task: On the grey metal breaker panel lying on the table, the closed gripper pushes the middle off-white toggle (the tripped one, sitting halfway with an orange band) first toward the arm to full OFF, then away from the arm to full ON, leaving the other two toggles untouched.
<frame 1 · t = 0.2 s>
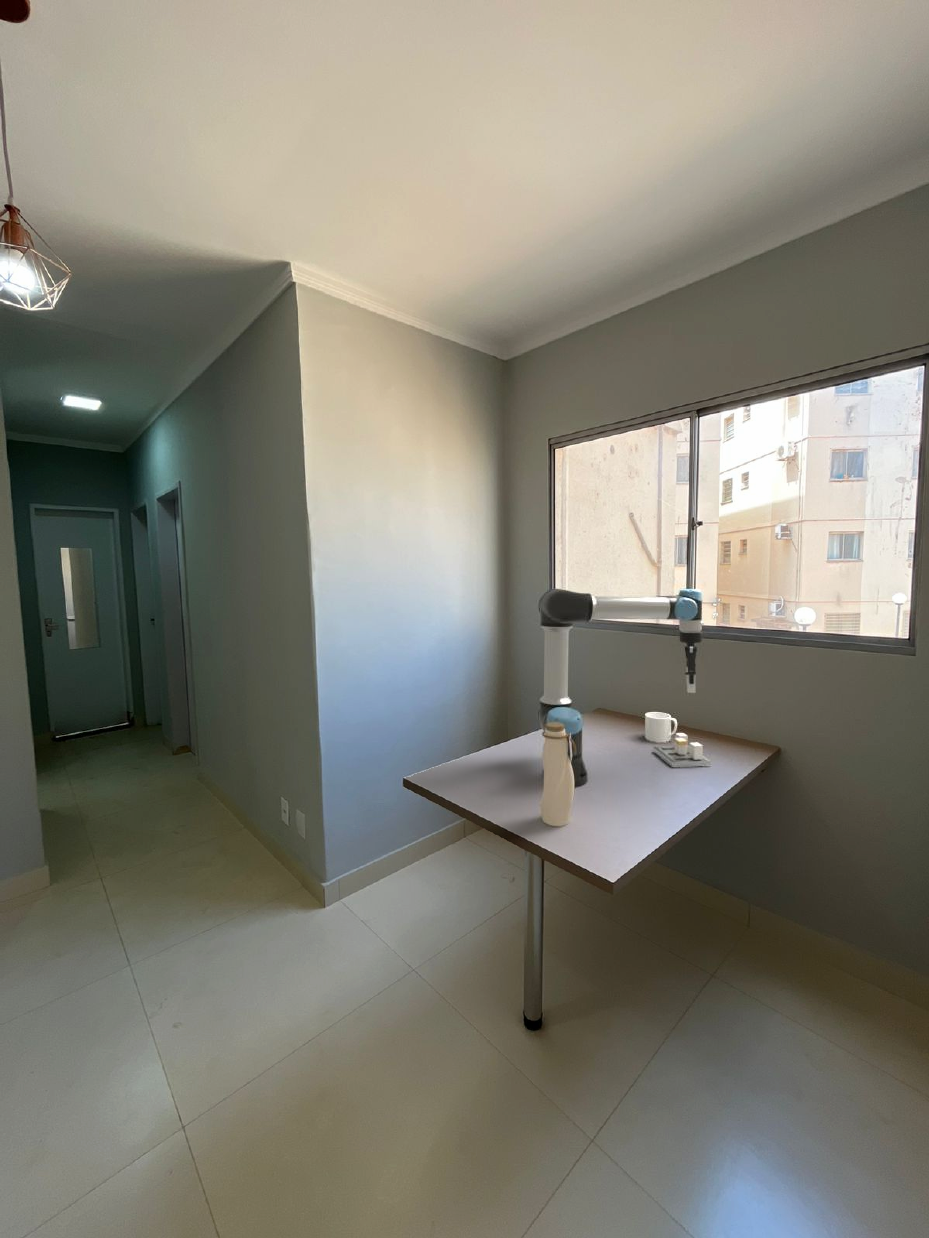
hand: (690, 688, 185), 27 cm above the table, fingers open, 13 cm apart
breaker low: (696, 750, 181), point 5 cm above the table, slide at 3.0 cm
panel: (680, 758, 187), on the table
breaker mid: (680, 746, 186), point 5 cm above the table, slide at 0.0 cm
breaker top: (681, 740, 192), point 5 cm above the table, slide at 3.0 cm
mug: (660, 740, 208), on the table
water bottle: (558, 820, 143), on the table
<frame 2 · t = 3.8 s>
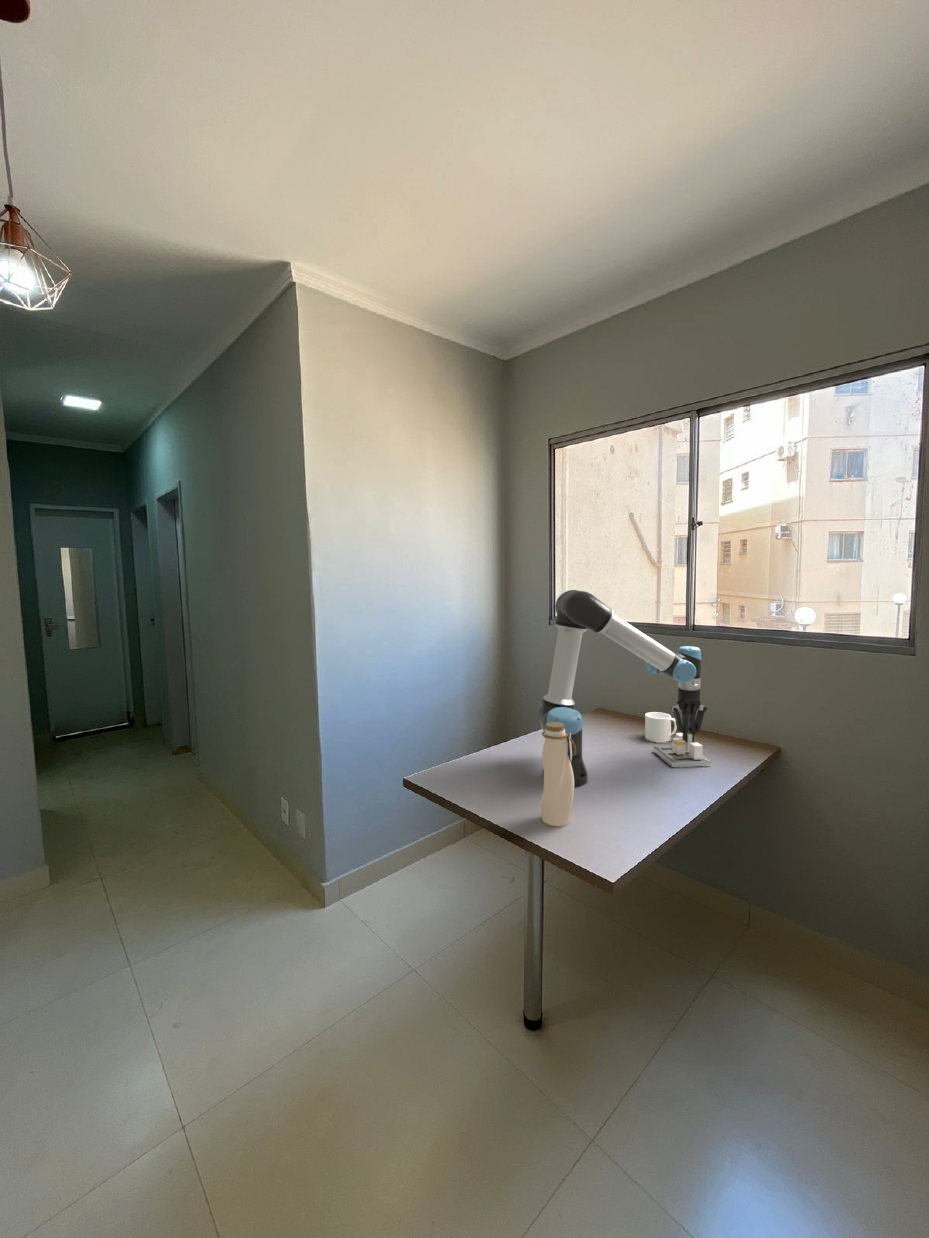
hand: (688, 750, 186), 3 cm above the table, fingers closed
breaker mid: (678, 746, 186), point 5 cm above the table, slide at -0.7 cm, touching gripper
everything else where it was.
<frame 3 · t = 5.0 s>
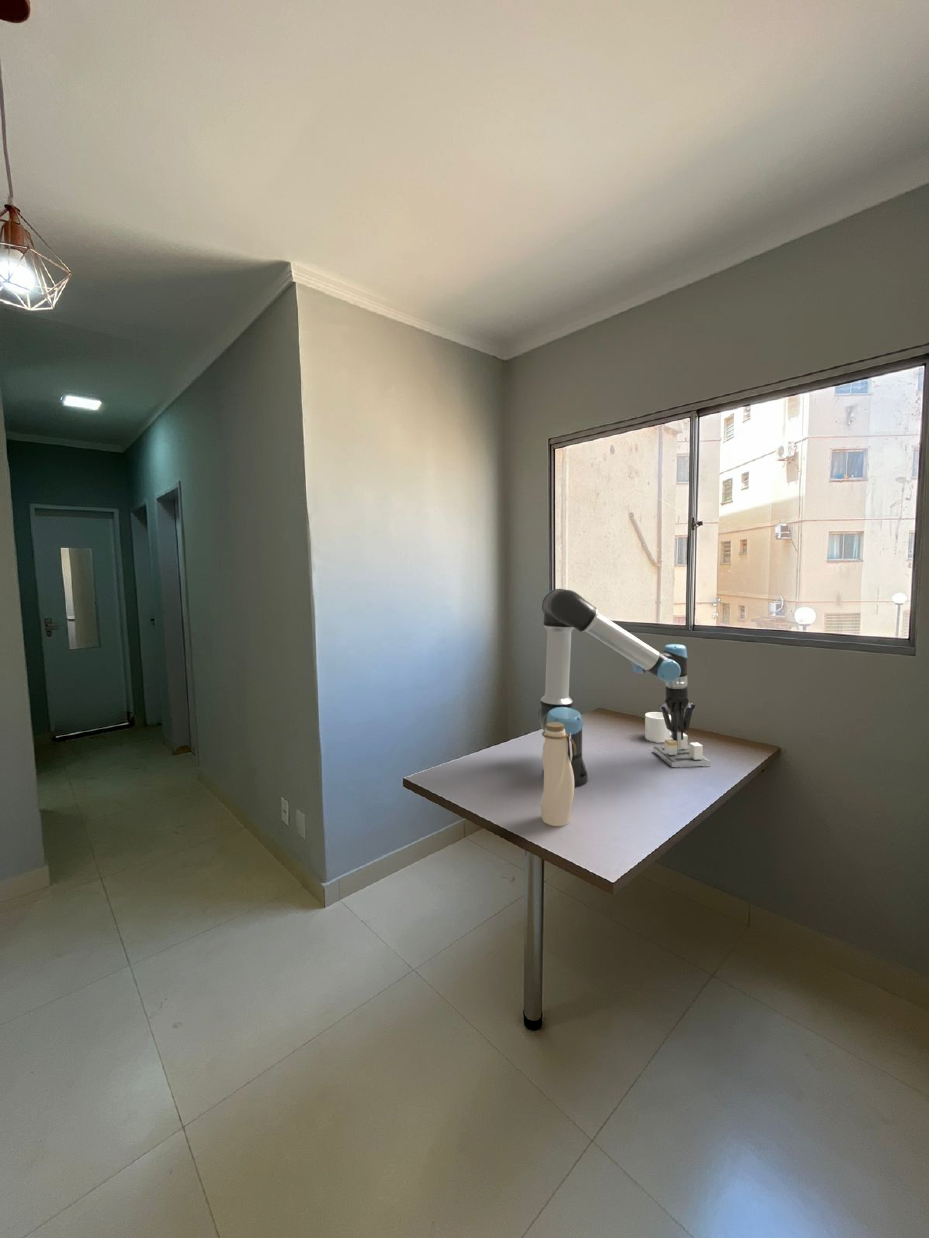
hand: (678, 748, 186), 4 cm above the table, fingers closed
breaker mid: (670, 746, 186), point 5 cm above the table, slide at -3.7 cm, touching gripper
everything else where it was.
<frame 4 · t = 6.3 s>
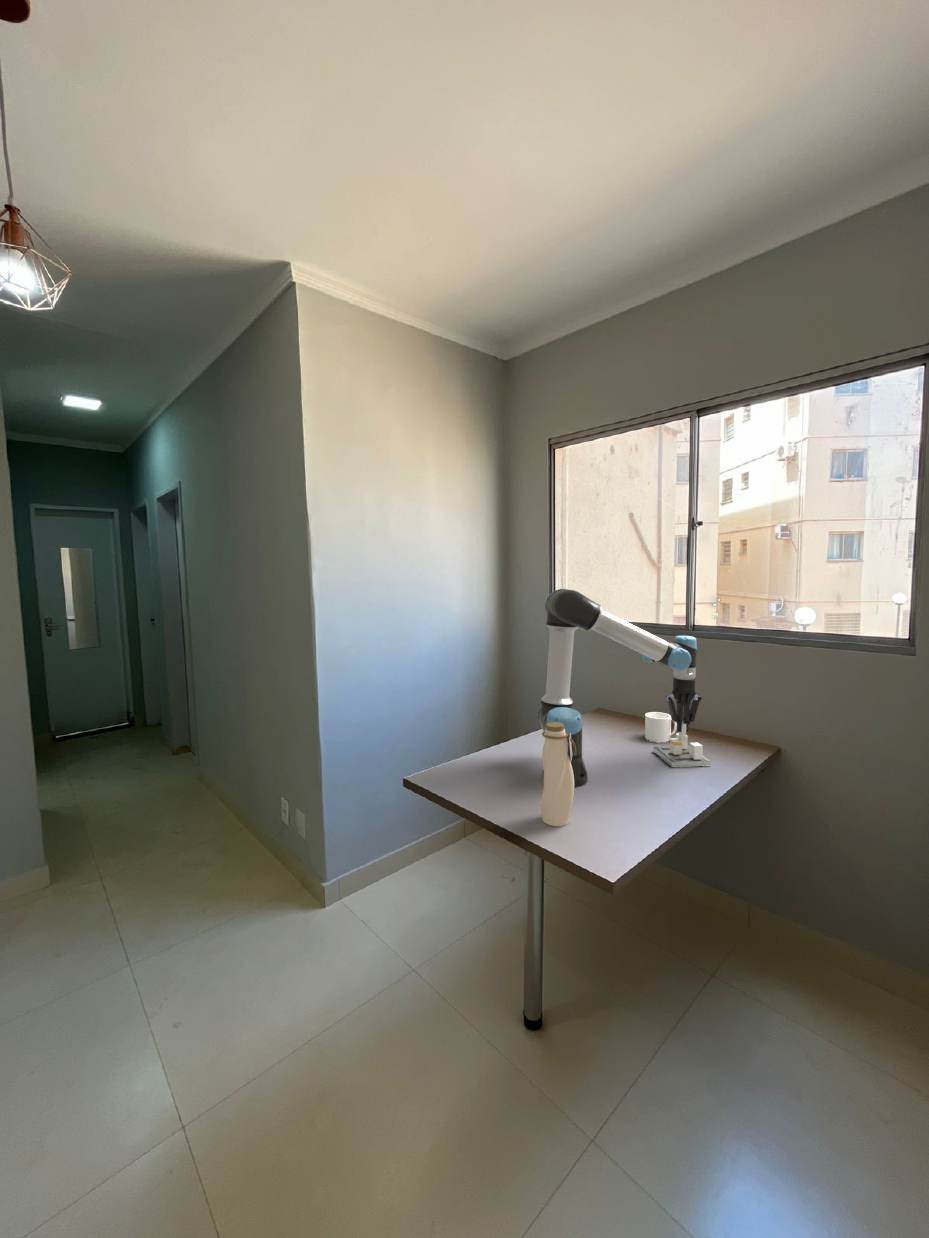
hand: (682, 739, 186), 7 cm above the table, fingers closed
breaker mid: (675, 746, 186), point 5 cm above the table, slide at -1.8 cm
everything else where it was.
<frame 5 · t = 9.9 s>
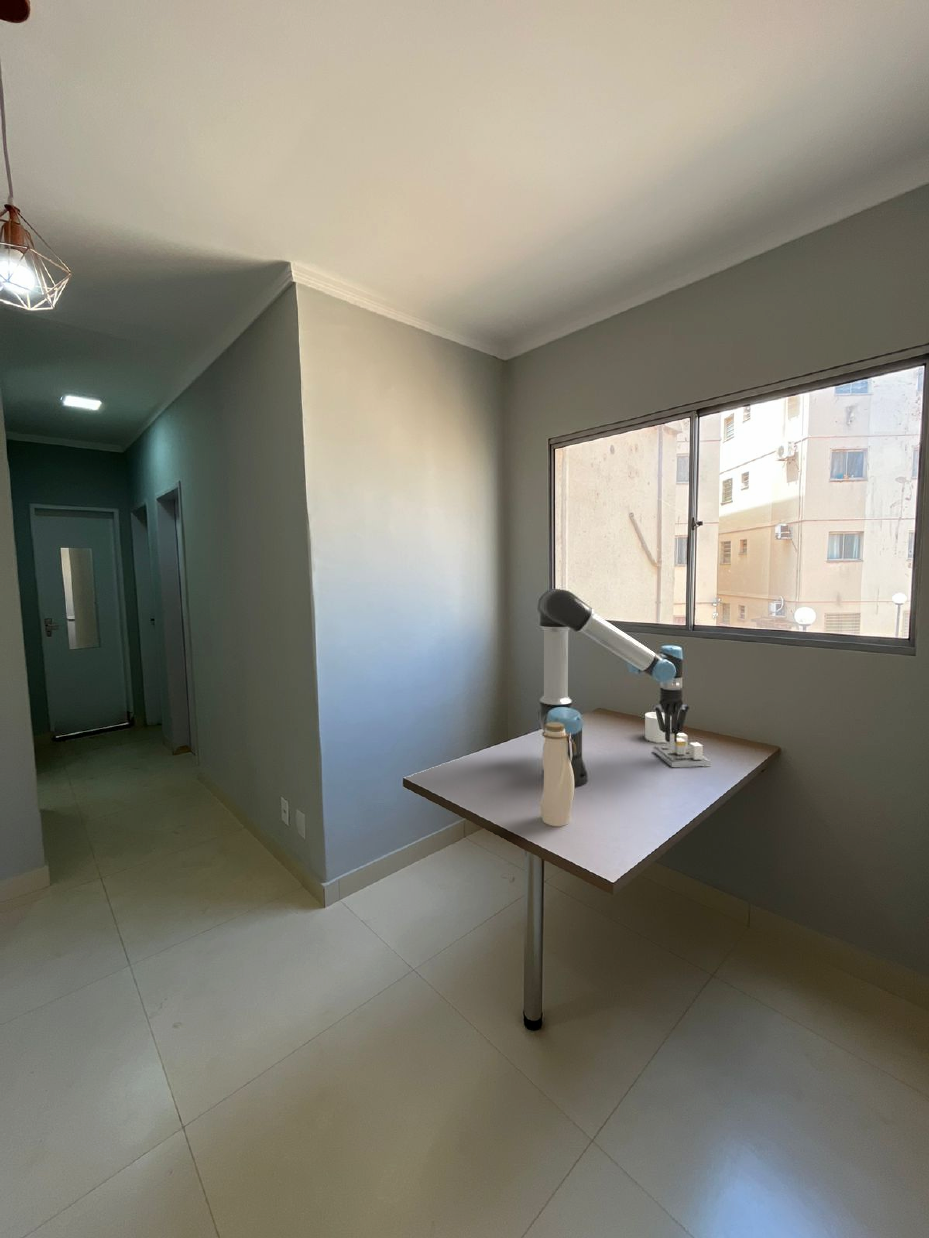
hand: (670, 749, 186), 4 cm above the table, fingers closed
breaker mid: (679, 746, 186), point 5 cm above the table, slide at -0.5 cm, touching gripper
everything else where it was.
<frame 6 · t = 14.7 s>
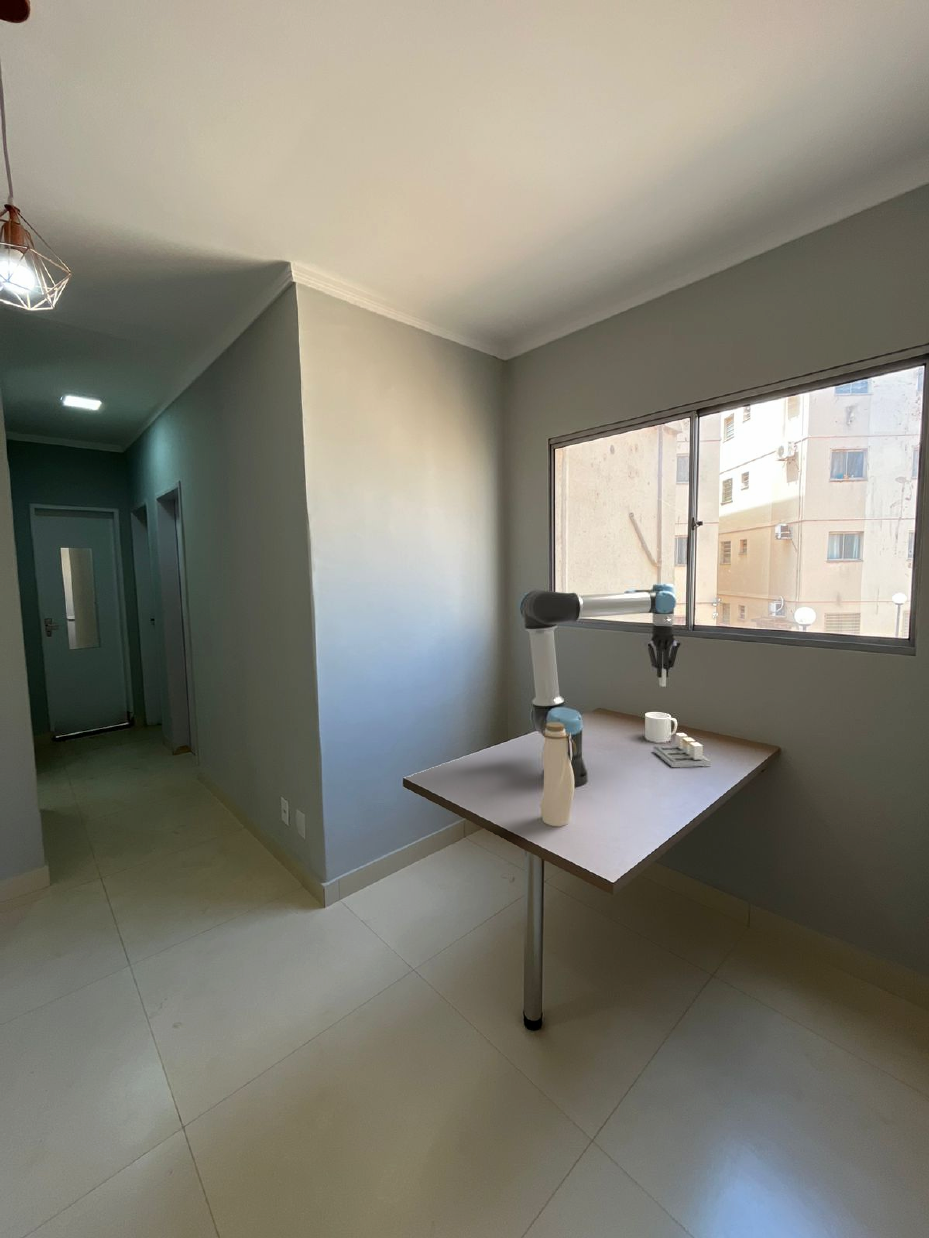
hand: (662, 685, 191), 26 cm above the table, fingers closed
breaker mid: (688, 745, 186), point 5 cm above the table, slide at 3.1 cm
everything else where it was.
at the end: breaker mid slide at 3.1 cm; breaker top slide at 3.0 cm; breaker low slide at 3.0 cm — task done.
